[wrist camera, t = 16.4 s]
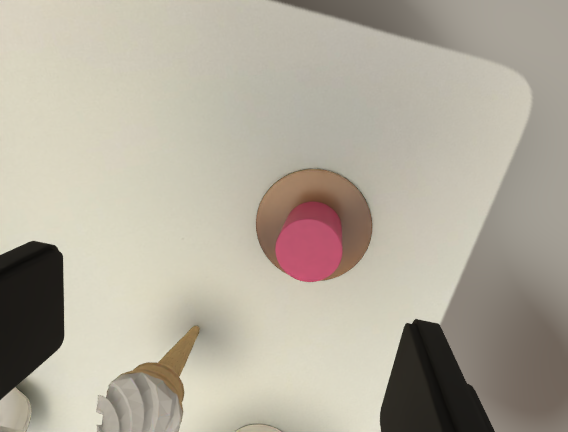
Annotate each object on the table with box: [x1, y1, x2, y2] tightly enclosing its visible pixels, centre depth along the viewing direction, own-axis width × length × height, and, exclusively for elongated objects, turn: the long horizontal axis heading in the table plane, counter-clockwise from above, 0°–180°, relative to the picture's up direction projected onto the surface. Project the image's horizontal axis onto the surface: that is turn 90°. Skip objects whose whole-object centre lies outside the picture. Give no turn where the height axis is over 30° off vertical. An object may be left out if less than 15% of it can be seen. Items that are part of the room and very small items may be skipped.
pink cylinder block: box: [275, 202, 342, 282], centre depth 28 cm, size 4×4×5 cm
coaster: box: [256, 169, 372, 281], centre depth 30 cm, size 9×9×1 cm
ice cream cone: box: [96, 326, 199, 432], centre depth 27 cm, size 6×6×15 cm
